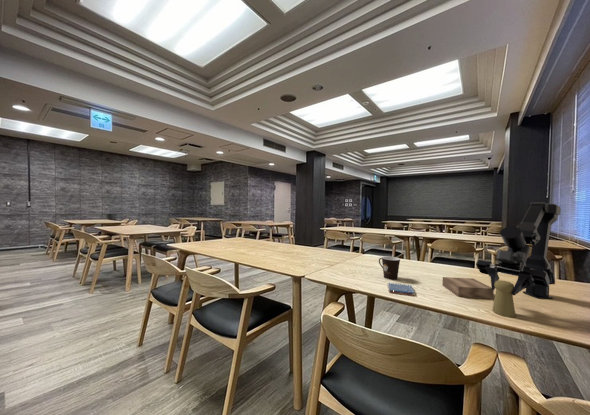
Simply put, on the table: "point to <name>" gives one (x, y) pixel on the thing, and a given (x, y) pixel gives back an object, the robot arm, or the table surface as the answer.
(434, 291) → the table surface
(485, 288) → the walnut block
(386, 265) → the coffee mug
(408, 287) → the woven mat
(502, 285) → the cork
